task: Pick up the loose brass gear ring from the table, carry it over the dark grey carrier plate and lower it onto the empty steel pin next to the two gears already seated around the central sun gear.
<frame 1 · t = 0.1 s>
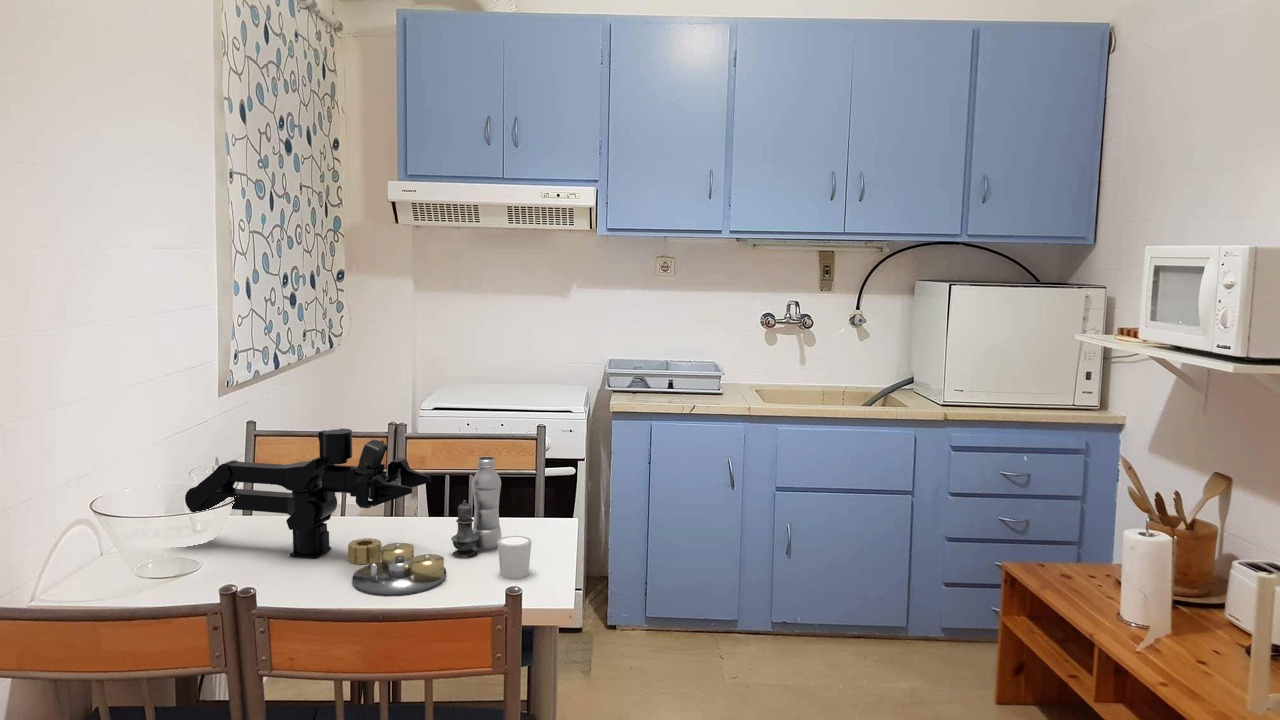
hand: (421, 484, 195), 17 cm above the table, tool horizontal, fingers open, 9 cm apart
plastic bottle: (486, 548, 207), on the table, touching salt shaker
salt shaker: (465, 554, 203), on the table, touching plastic bottle
shot glass: (514, 574, 191), on the table
gear: (365, 559, 198), on the table
carrier: (400, 578, 187), on the table
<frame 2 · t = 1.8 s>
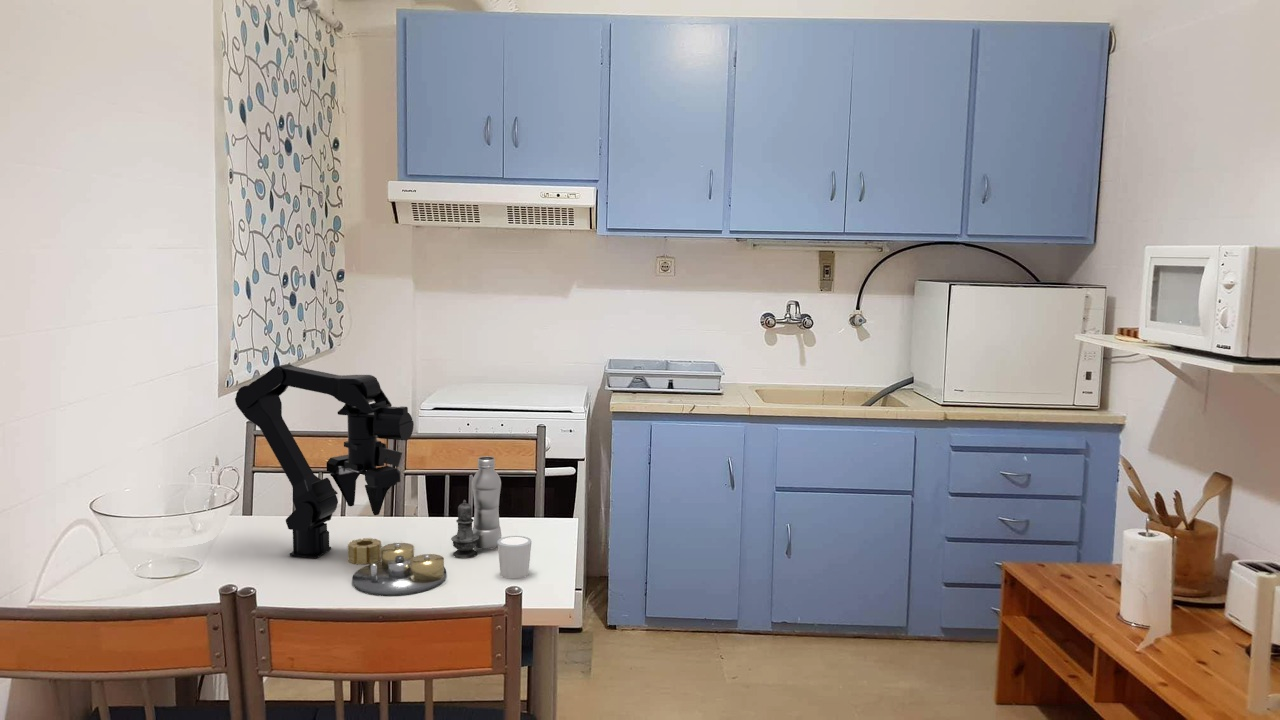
hand: (363, 510, 197), 11 cm above the table, tool pointing down, fingers open, 9 cm apart
nothing on the table moved.
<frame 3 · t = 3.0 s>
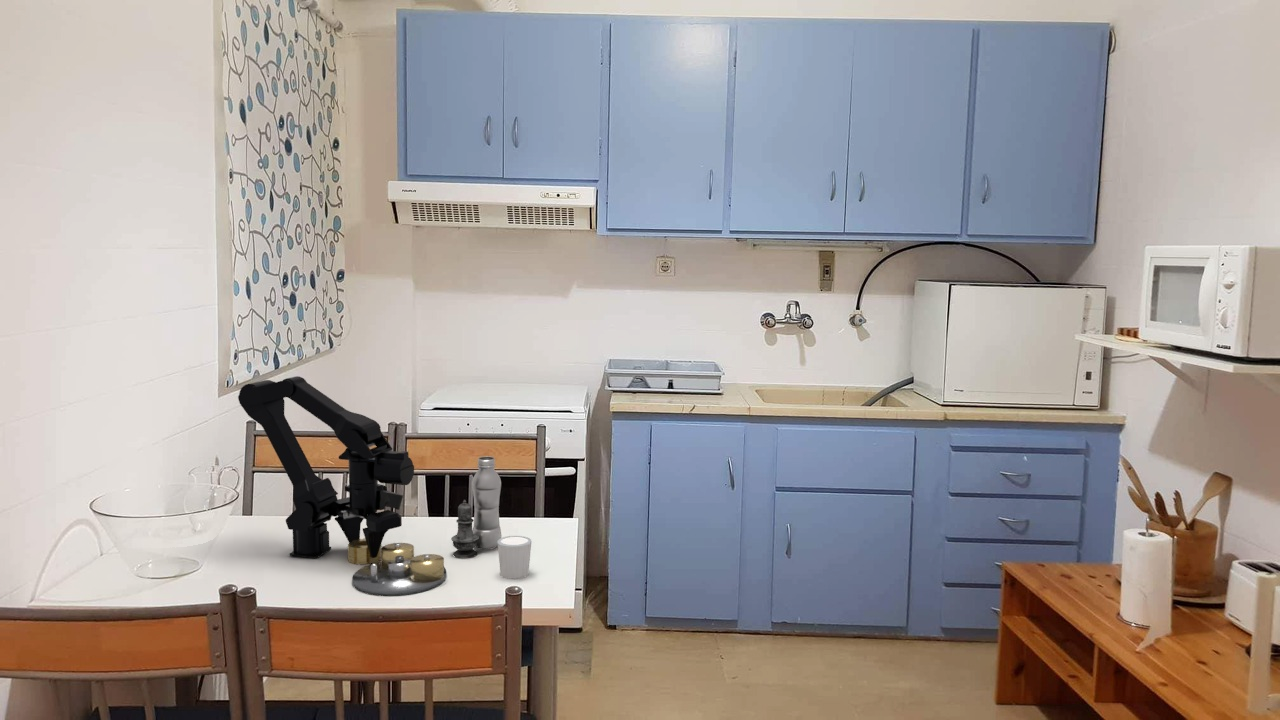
hand: (364, 553, 198), 1 cm above the table, tool pointing down, fingers closed on gear, 6 cm apart
gear: (365, 559, 198), on the table, touching gripper
everything else where it was.
when the fingers open (3 cm above the table, at t = 7.0 s): gear drops 1 cm, resting on carrier.
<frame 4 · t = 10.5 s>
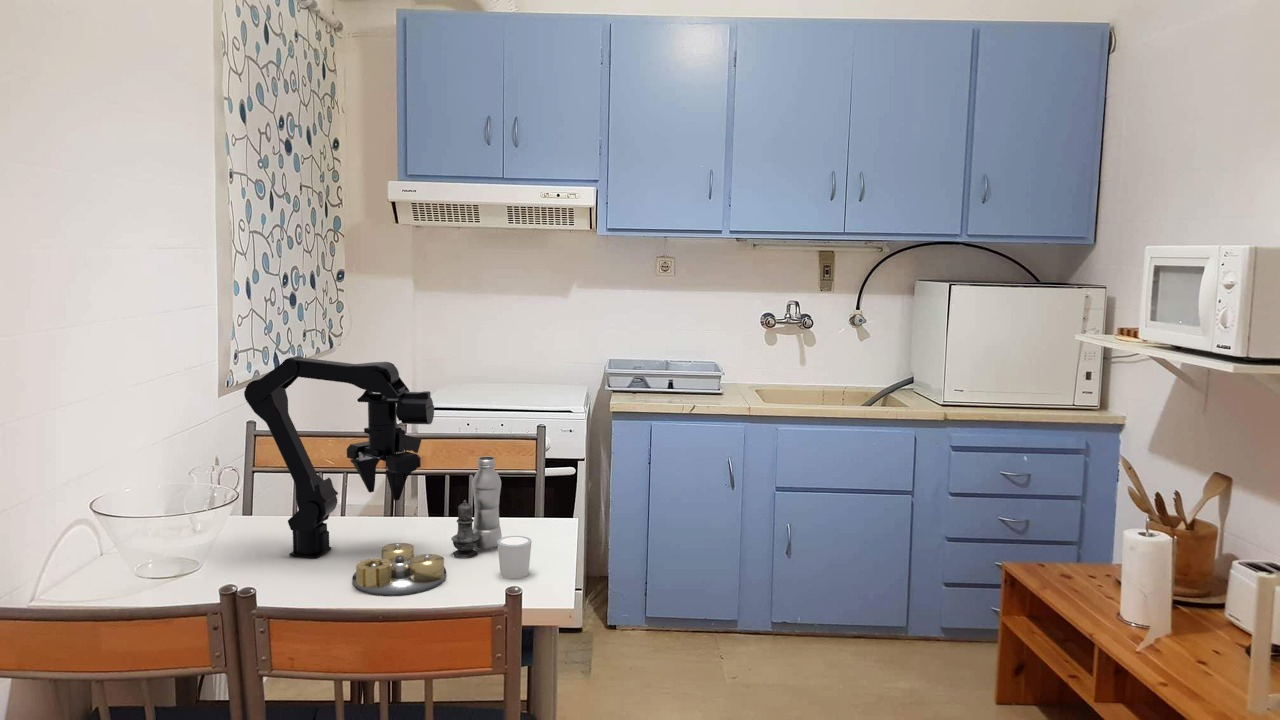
hand: (383, 496, 199), 13 cm above the table, tool pointing down, fingers open, 9 cm apart
gear: (374, 581, 183), point 1 cm above the table, touching carrier
everything else where it was.
at the end: gear 0.1 cm from the target spot on the carrier, point 1.0 cm above the carrier's base; gear tilted 0°; the gripper is holding nothing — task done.
